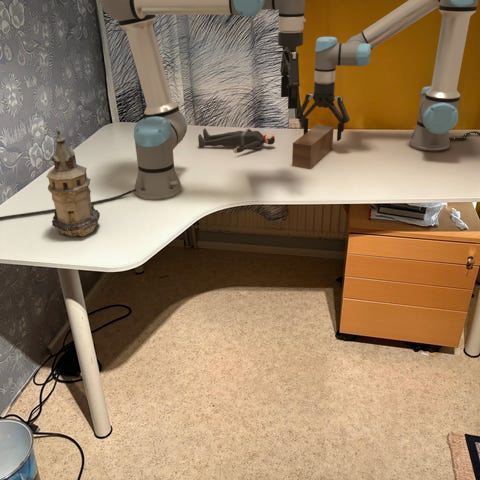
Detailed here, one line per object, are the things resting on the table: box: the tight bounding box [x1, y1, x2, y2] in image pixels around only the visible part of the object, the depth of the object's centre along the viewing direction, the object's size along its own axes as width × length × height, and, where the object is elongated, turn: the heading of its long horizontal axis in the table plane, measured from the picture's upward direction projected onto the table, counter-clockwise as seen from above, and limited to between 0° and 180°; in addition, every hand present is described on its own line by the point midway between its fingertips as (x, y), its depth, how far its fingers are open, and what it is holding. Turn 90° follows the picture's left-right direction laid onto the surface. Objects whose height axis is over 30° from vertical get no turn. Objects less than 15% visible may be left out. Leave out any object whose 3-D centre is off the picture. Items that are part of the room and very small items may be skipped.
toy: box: [197, 128, 276, 154], centre depth 214 cm, size 26×6×30 cm
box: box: [291, 124, 335, 170], centre depth 202 cm, size 24×7×9 cm, turn 152°
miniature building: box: [46, 129, 101, 237], centre depth 148 cm, size 13×14×30 cm
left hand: (288, 102), depth 170 cm, fingers open, 13 cm apart
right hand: (322, 137), depth 207 cm, fingers open, 13 cm apart
